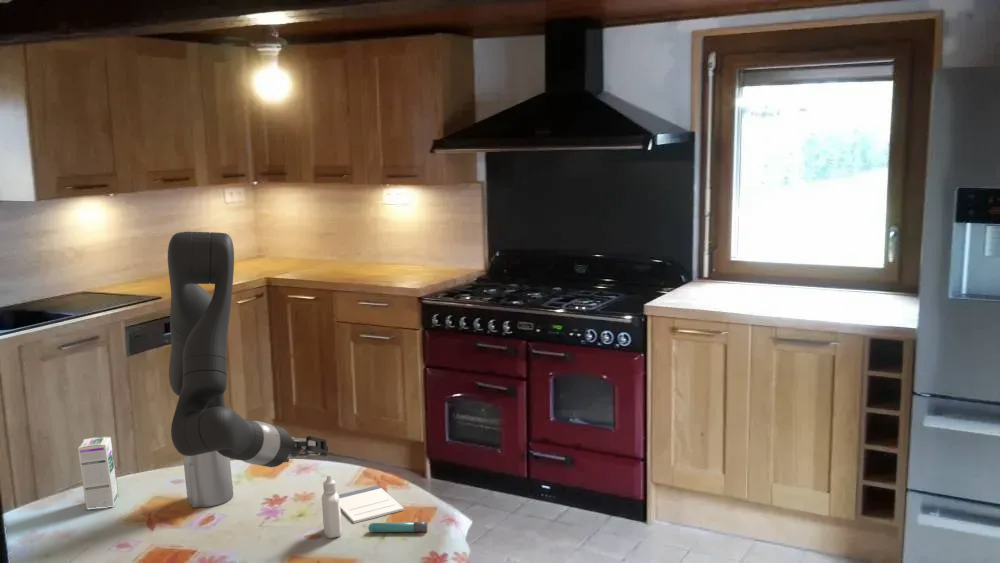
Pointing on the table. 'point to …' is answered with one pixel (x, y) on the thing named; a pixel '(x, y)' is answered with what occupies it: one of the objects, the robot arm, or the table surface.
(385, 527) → the marker
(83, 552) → the table surface
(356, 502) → the notepad
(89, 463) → the syrup box
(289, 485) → the table surface
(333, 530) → the white tapered bottle shape
